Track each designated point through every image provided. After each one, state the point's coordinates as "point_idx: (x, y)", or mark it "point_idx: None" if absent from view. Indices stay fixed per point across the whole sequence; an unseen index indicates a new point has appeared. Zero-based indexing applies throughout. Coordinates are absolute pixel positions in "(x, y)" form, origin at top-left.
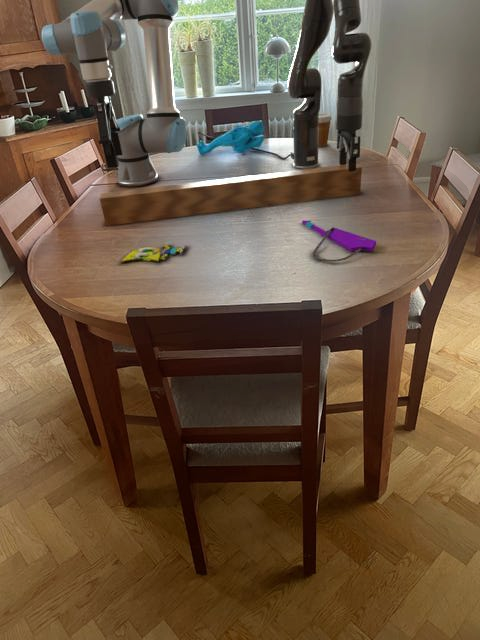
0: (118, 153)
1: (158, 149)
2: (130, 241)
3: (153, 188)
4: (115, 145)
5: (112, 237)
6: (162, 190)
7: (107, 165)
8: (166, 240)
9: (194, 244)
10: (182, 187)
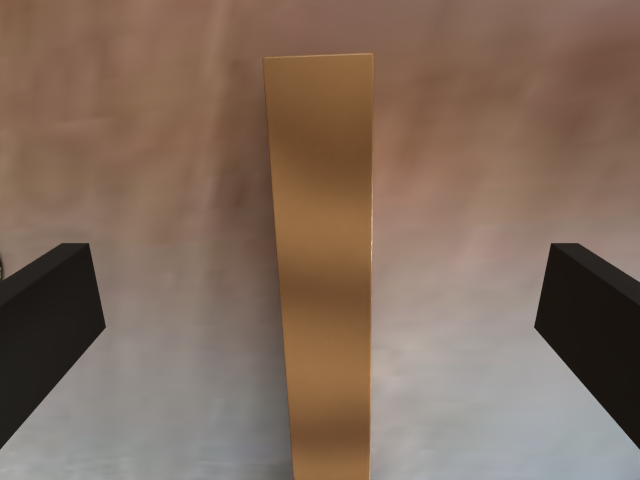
0: (548, 306)
1: None
2: (80, 197)
3: (349, 355)
4: (605, 343)
5: (132, 114)
6: (297, 395)
7: (48, 255)
8: None
9: None
10: (310, 471)
